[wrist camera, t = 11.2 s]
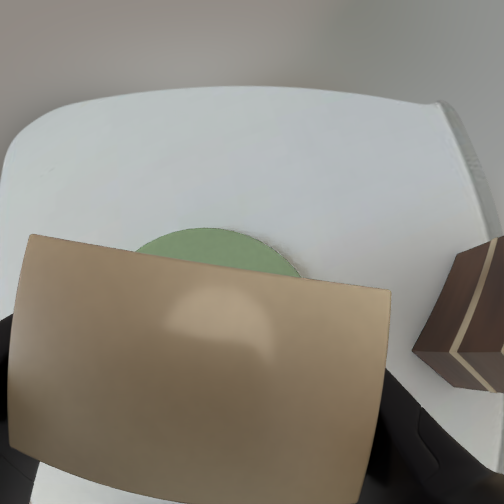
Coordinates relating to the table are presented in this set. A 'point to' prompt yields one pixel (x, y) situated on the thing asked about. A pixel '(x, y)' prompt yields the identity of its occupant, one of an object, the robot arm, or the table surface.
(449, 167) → the table surface
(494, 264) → the cake loaf
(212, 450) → the cake slice
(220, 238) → the plate
